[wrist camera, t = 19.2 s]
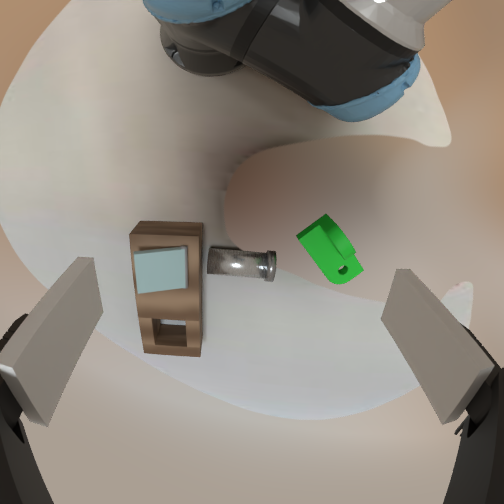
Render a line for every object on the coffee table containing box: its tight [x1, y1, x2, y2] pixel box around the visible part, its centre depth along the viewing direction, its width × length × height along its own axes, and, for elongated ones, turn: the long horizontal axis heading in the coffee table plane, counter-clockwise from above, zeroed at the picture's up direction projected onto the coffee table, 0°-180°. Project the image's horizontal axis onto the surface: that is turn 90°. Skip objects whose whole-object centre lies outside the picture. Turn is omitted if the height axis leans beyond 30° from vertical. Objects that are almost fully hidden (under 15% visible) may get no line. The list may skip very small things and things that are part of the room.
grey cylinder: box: [207, 248, 276, 282], centre depth 48 cm, size 5×5×10 cm
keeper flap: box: [133, 245, 188, 294], centre depth 42 cm, size 6×1×8 cm
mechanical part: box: [296, 214, 363, 284], centre depth 48 cm, size 12×6×8 cm, turn 38°
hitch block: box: [129, 221, 202, 357], centre depth 49 cm, size 22×10×6 cm, turn 176°
